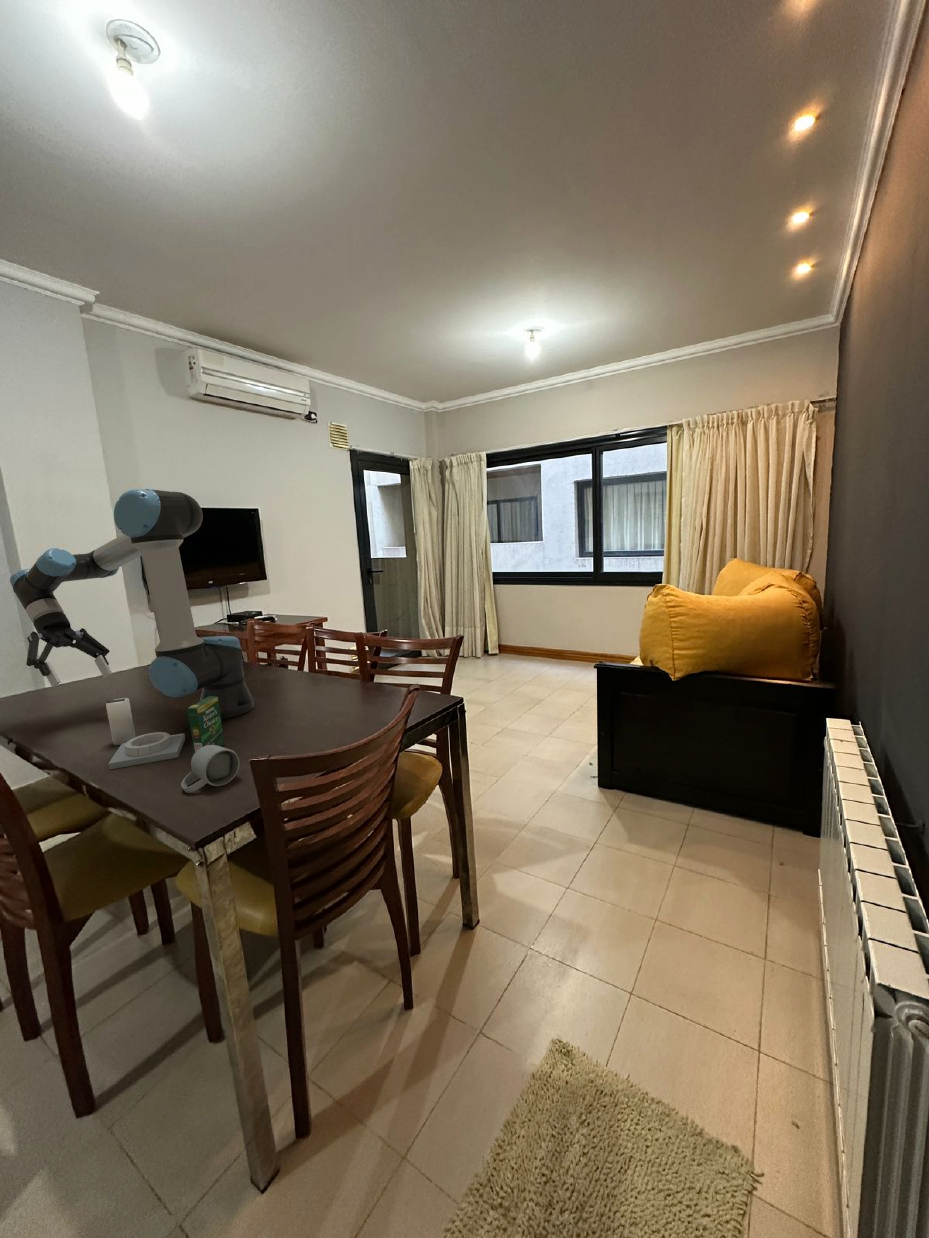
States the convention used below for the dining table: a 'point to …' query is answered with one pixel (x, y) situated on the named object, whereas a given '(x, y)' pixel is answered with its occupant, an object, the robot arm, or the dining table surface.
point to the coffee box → (206, 723)
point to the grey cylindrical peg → (120, 720)
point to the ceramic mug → (211, 767)
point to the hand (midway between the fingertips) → (83, 680)
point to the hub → (147, 749)
